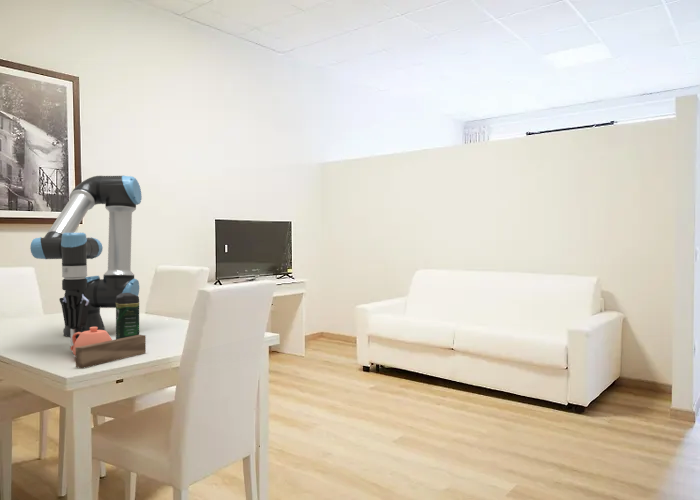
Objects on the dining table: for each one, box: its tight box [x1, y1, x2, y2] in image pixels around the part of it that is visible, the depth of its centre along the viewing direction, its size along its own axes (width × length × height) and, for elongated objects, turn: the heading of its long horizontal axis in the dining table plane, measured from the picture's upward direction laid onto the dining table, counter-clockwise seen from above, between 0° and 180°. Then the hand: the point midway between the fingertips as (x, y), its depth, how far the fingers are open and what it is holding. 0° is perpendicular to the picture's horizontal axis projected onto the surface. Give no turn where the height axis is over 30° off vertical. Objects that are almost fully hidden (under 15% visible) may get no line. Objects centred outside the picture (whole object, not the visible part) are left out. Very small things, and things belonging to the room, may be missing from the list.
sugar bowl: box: [70, 327, 113, 357], centre depth 176 cm, size 12×14×10 cm
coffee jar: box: [115, 293, 140, 339], centre depth 202 cm, size 10×8×19 cm
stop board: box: [75, 334, 147, 369], centre depth 174 cm, size 3×24×6 cm, turn 153°
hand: (75, 347), depth 183 cm, fingers closed
